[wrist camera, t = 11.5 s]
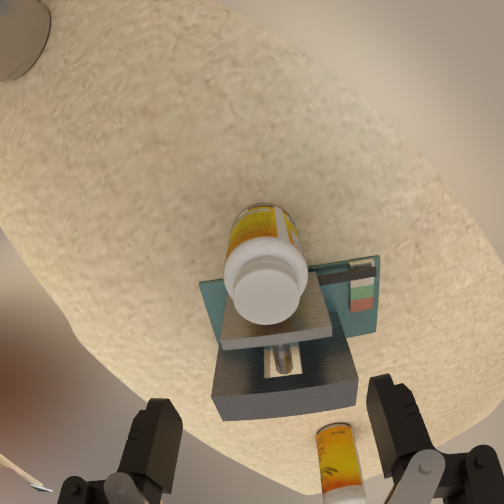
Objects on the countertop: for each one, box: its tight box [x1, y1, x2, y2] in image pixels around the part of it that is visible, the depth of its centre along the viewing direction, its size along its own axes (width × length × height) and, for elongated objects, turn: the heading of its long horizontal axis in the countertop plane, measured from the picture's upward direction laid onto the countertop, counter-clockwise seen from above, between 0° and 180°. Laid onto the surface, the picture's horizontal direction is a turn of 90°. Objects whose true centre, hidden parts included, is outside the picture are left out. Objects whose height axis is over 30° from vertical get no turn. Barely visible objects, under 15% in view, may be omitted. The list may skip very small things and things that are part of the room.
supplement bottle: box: [223, 204, 308, 325], centre depth 22 cm, size 6×6×10 cm
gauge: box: [199, 255, 380, 421], centre depth 26 cm, size 10×18×10 cm, turn 100°
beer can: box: [316, 424, 366, 504], centre depth 34 cm, size 6×6×15 cm
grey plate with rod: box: [220, 266, 377, 374], centre depth 25 cm, size 8×14×8 cm, turn 100°
